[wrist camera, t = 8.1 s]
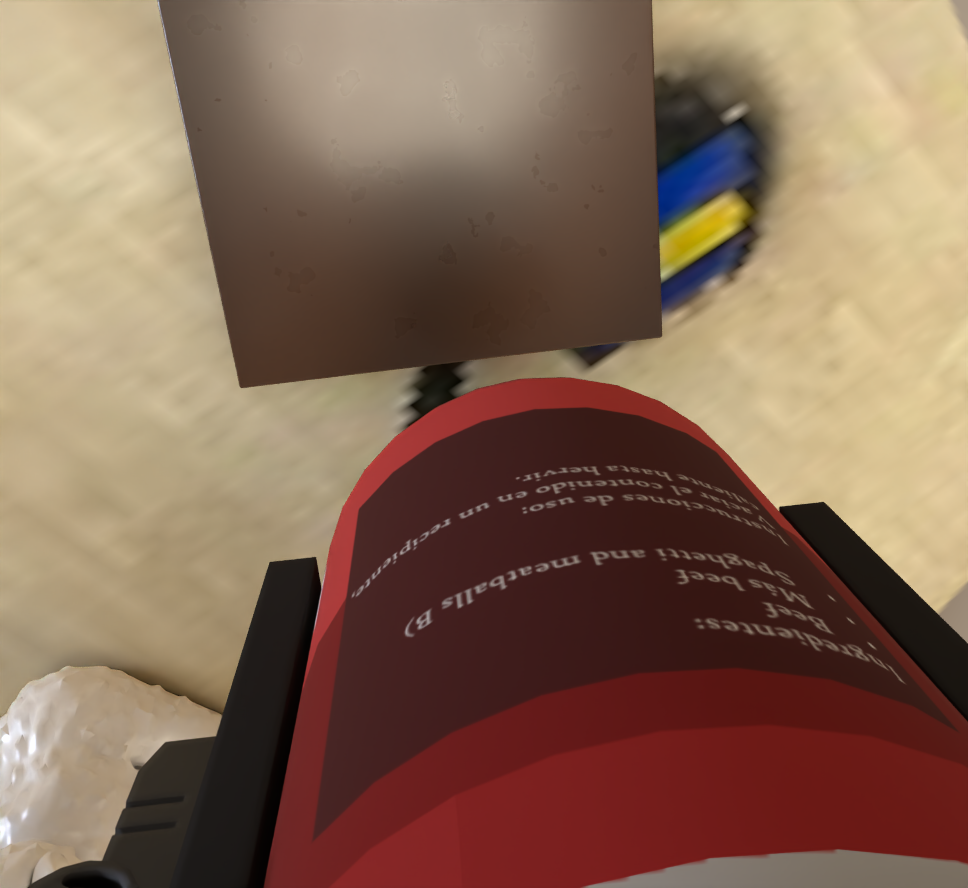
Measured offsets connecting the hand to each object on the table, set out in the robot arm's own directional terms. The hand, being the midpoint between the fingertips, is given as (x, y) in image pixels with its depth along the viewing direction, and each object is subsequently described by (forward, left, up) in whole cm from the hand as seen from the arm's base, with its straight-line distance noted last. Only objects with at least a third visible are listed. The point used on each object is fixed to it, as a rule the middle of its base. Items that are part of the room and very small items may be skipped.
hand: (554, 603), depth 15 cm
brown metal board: (-1, +8, -17) cm, 19 cm away
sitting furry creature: (-16, -14, -17) cm, 28 cm away
